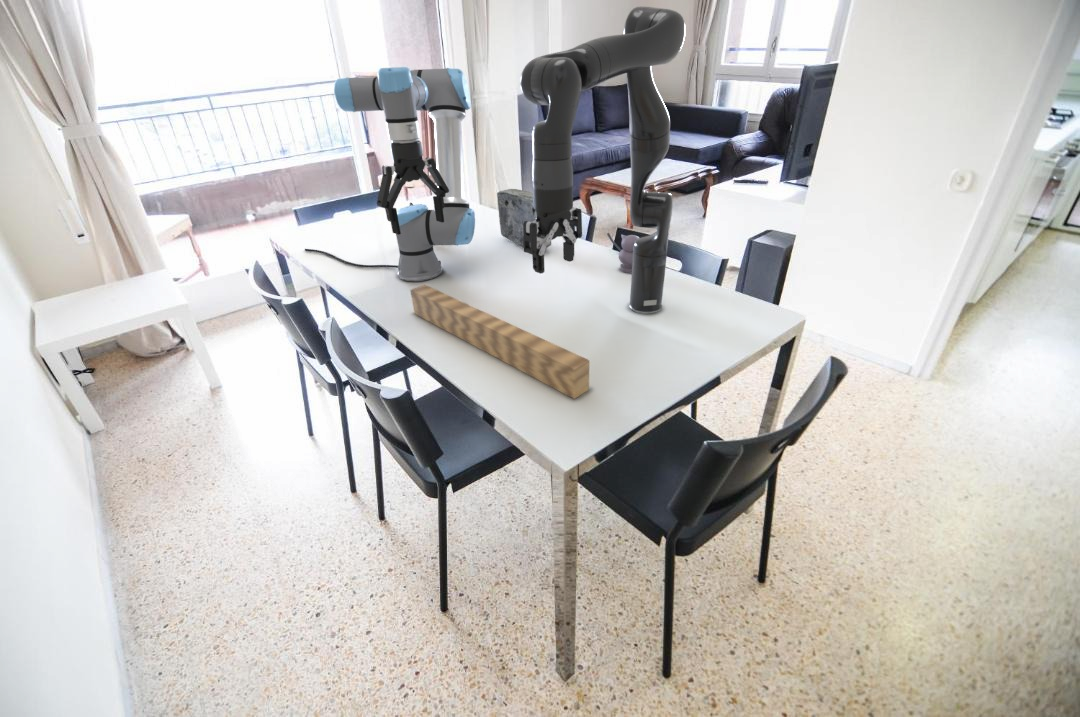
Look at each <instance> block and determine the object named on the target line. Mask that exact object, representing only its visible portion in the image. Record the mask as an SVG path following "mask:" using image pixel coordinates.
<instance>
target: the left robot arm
mask: <svg viewBox="0 0 1080 717" xmlns="http://www.w3.org/2000/svg"><path fill="white" fill-rule="evenodd" d="M333 93H334V99H335V102H336V105H337V106H338V107H339V109H340V110H341V111H343V112H348V113H349V112H352V113H356V112H375V111H377V112H379V111H381V112H383V113H384V119H385V125H386V132H387V137H388V140H389V141H391V142H390V144H389V147H390V151H391V152H390V153H391V158H392V160H393V164H392V165H384V164H383V165H382V167H381V171H382V177H381V180H380V181H381V182H380V185H379V191H378V195H377V199H376V206H377V207H379V208H382V209H384V210H385V215H386V220H387V221H388V222H390V225H391V231H392V234H395V236H396V243H397V247H398V251H399V259H398V265H395V264H361V263H354V262H350V261H347V260H344V259H342V258H341V257H338V256H336V255H335V254H332V253H330V252H327V251H325V250H319V249H313V248H304V251H305V252H314V253H319V254H324V255H326V256H329V257H331V258H333V259H336V260H337V261H339V262H341V263H344V264H347V265H350V266H355V267H359V268H394V269H397V276H398V278H399V279H400V280H402V281H406V282H413V283H414V282H425V281H429V280H432V279H435V278H438V277H439V276H440V275H441V274H442V273H443V268H442V263H441V260H439V259H438V256H437V254H436V252H435V250H434V246H457V247H458V246H466V245H469V244H470V243H471V242H472V241H473V238H474V234H475V228H476V213H475V209H473V208H470V202H468V200H466V198H465V182H464V179H465V178H464V156H463V135H462V122H463V120H464V119H465V118H466V111H468V110H470V109H471V95H470V90H469V85H468V82H467V78H466V75H465V73H464V72H463V71H462V69H460V68H449V67H445V68H426V69H411V70H410V68H408V66H398V67H396V66H395V67H393V66H392V67H381V68H379V69H378V71H377V76H366V77H365V76H364V77H343V78H337V79H336V80H335V81H334V85H333ZM417 111H418V112H421V111H422V112H423V111H424V112H428V116H429V117H430V118H431V119H432V120H433V123H434V125H433V126H434V143H435V159H434V158H433V157H425V158H423V156H424V152H423V144H422V141H421V140H419V139H420V138H421V133H420V127H419V119H418V118H419V117H418V112H417ZM425 168H426V169H427V170H428V173H429V174H430V176H431V177H432V179H433V180H432V179H431V178H430V177H429V175H428V174H427V173H426V172H425V171H424V170H425ZM394 173H395V174H396V175H395V176H394V179H393V175H394ZM392 180H393V184H392ZM419 180H420V181H421V182H422V183H423V184H424V185H425V186H426V187H427V188H428V189H429V190H430V191H431V192H432V193H433V194H434V196H432V198H433V200H432V201H433V209H429V207H428V205H427V204H422V203H418V204H413V205H411V206H410V205H408V206H404V207H401V208H400V209H397V208H396V207H394V206H395V204H396V201H397V200H398V197H399V196H400V193H401V191H402V189H403V187H404V186H405V185H406V183H410V182H413V181H419Z"/></svg>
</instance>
